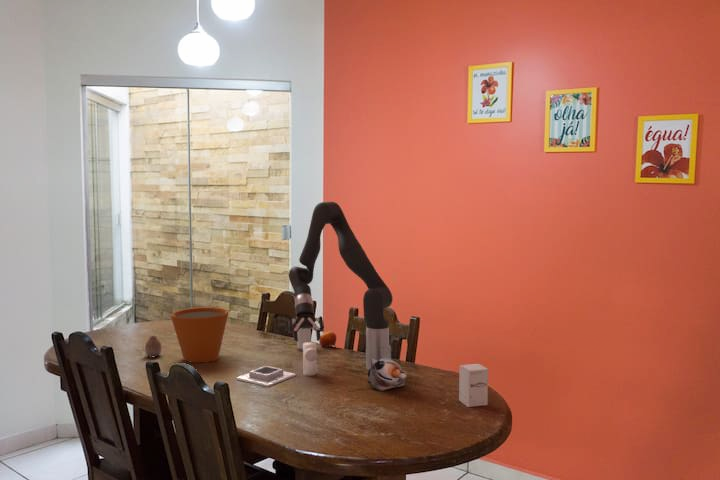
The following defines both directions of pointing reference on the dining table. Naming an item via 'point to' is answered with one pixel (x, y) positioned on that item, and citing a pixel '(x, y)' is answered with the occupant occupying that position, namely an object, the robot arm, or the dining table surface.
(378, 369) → the lucky cat figurine
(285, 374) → the plate
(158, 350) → the reddish brown teardrop
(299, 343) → the travel mug
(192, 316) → the flower pot
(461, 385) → the supplement box
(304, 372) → the elbow
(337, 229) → the robot arm
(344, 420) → the dining table surface
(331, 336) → the fruit
